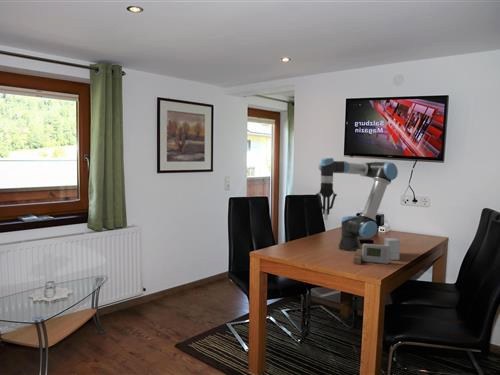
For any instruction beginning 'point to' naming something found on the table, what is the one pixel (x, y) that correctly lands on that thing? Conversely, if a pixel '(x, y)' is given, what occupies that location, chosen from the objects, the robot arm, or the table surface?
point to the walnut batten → (358, 257)
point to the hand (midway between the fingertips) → (325, 219)
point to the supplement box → (393, 248)
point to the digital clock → (375, 253)
